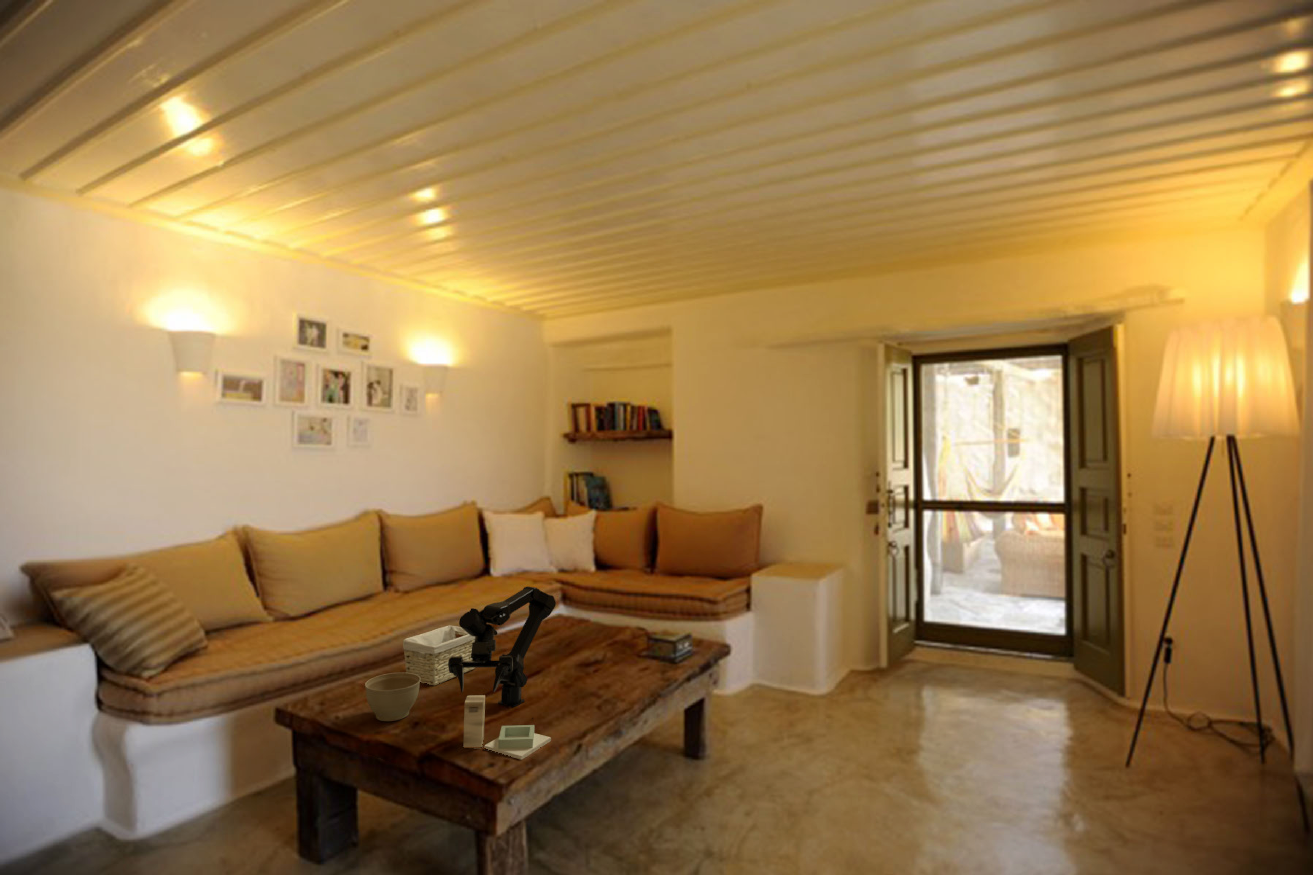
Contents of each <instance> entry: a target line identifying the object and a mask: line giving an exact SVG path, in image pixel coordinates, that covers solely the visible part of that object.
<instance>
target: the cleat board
mask: <svg viewBox="0 0 1313 875" xmlns="http://www.w3.org/2000/svg"><path fill="white" fill-rule="evenodd" d="M551 741H552V737H550V736H548V735H547V736H546V735H544V734H543V735H542V734H538V733H535V724H528V725H527V724H525V725H524V724H522V725H519V724H518V725H501V728H500V732H499V736H498V737H497V738H495V739H493V740H492V741H490V742H488V743H486V744H485V745H484V744H483V745H484V746H483V749H484V748H486V749H488V750H487V751H489V750H492V751H495V752H494V753H496V752H498V753H497V754H499V753H502V754H501V755H503V754H504V756H506V755H508V756H507V757H510V756H511V758H514V759H517V760H520V761H523V760H524V759H526V757H529V756H530V755H531V754H533V753H534V752H536V751H537V750H539V749H541V748H542V747H544V746H545V745H546V744H548V743H550V742H551ZM540 747H541V748H540ZM492 751H491V752H492Z"/></svg>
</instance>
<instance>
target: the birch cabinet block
mask: <svg viewBox="0 0 1313 875" xmlns="http://www.w3.org/2000/svg"><path fill="white" fill-rule="evenodd" d="M485 710H486V695H485V694H484V695H483V694H482V695H481V694H480V695H479V694H478V695H476V694H474V695H467V696H466V698H465V701H464V712H463V713H464V714H463V715H464V716H463V717H464V719H463V745H462V746H463V747H482V748H483V745H484V742H483V740H485V715H486V714H485ZM482 744H483V745H482Z"/></svg>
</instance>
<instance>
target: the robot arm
mask: <svg viewBox="0 0 1313 875" xmlns="http://www.w3.org/2000/svg"><path fill="white" fill-rule="evenodd" d="M556 603H557V601H556V599H555V597H554V595H552V594H548V593H546V592H544V591H542V590H540V589H539V588H538V587H533V586H529V585H528V586H524V587H523V588H522V589H521V590H519V591H518V592H516V593H514V594H513V595H511V596H509V597H507V598H506V599H504V600H503V601H500V602H492V603H490V604H487V605H485V606H484V608H483V609H482V610H480V611H479V610H478V608H473V607H471V608H470V610H469V611H466V612H465V613H463V615H461V617H460V618H459V622H458V624H459V627H461V628H462V629H464V630H465V631H466V632H467V633H468V634H469V635H471V636H475V641H474V642H473V643H472V651H471V658H472V661H463V656H457V657H450V658H449V661H448V667H449V672H450V673H453V674H454V676H456V677H457V679H458V682H459V687H460V693H463V692H464V682H465V681H464V678H465V677H464V676H465V673H463V670H464V668H475V669H476V668H495V669H494V674H495V676H494V682H493V686H492V688H493V690H492V692H493V693H496V691H497V688H498V687H499V684H500V685H502V686H501V697H500V699H501V700H500V701H497V704H498V705H501V704H502V706H505V707H509V708H515V707H517V706H518V705H520V704H523V703H524V702H525V700H526V699H525V698H522V688H523V687H525V685H526V686H527V681H528V678H529V677H528V676H527V675H526V674H525V673H524V670H525V664H524V659H525V657H526V654H527V652H528V651H529V648H530V646H531V644H532V642H533V640H534V638H535V636H536V634H537V632H538V630H539V628H540V626H541V624H542V622H543V621H544V620H545V619H547V618H548V617H549V616H551V614H552V613H553V611H554V609H555V608H556V605H557V604H556ZM527 604H528V616H527V619H526V620H525V622H524V624H523V625H522V628H521V630H520V632H519V634H518V635H517V638H516V640H515V642H514V644H513V645H512V648H511V649H510V651H509V653H507V654H504V653H503V654H502V655H500V656H499V657H498V660H492V657H493V652H496V647H497V645H496V644H497V639H494V638H495V636H497V635H498V631H497V630H496V629H495V627H494V626H493V625H496V626H499V627H501V626H503V625H504V624H505V623H506V622H507V621H508V620H510V619H511V615H512V614H513V613H514V612H516V611H518V610H519V609H521V608H523V607H524V606H526V605H527Z"/></svg>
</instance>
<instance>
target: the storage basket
mask: <svg viewBox="0 0 1313 875" xmlns="http://www.w3.org/2000/svg"><path fill="white" fill-rule="evenodd" d="M457 635H461V636H460V637H457ZM474 641H475V636H471V635H469V634H468V633H467V632H466V631H465V630H464V629H462V628H461V627H460V626H456V625H451V624H450V625H446V626H442V627H439V628H436V629H433V630H430V631H427V632H424V633H421V634H417V635H413V636H411V637H407V638H405V639H403V641H402V642H403V643H402V645H403V647H402V648H403V653H404V654H403V655H404V662H405V663H404V664H405V665H404V666H405V673H412V674H416V675H418V676H419V677H420V678H421V680H420V682H421V683H420V684H424V683H427V684H426V685H428V684H429V685H428V686H436V685H440V684H442V683H444V682H446V681H448V680H449V681H450V680H451V679H454V678H456V677H457V676H454V674H453V673H450V672H449V667H448V661H449V658H450V657H457V656H463V661H472V658H471V651H472V643H473V642H474ZM474 669H476V668H464V670H463V673H464V674H466V673H467V672H470V671H472V670H474ZM439 683H440V684H439Z"/></svg>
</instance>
